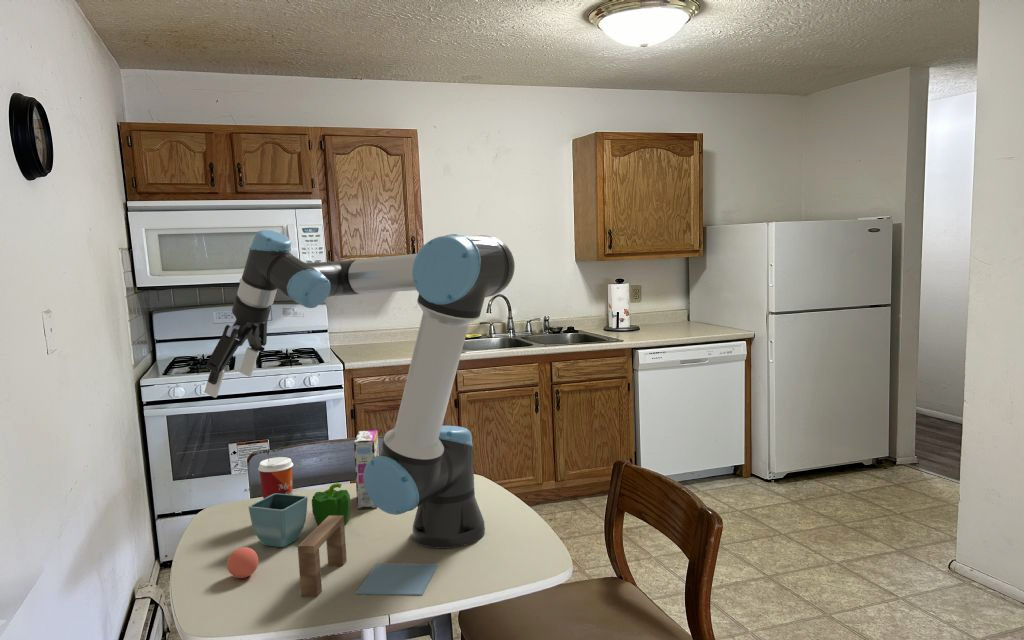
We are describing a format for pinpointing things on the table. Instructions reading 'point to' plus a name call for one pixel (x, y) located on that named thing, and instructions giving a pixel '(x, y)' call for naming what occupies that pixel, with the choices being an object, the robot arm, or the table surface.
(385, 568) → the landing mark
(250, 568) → the ball
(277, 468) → the paper cup
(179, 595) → the table surface
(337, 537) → the bridge
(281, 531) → the flower pot
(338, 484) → the bell pepper
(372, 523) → the table surface
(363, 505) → the candy bar box
